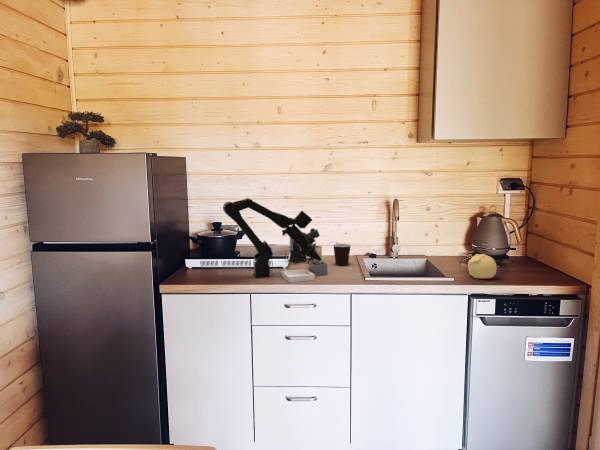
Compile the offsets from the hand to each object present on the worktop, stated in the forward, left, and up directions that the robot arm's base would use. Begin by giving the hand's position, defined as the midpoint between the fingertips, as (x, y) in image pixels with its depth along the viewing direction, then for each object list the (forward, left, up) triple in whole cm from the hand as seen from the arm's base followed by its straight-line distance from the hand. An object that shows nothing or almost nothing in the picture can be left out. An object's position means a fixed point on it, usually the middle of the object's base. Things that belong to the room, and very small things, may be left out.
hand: (321, 259), depth 209 cm
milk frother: (+1, +27, -7) cm, 28 cm away
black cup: (+18, +14, -7) cm, 24 cm away
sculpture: (+65, -32, -7) cm, 73 cm away
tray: (-13, -4, -7) cm, 15 cm away
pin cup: (-1, +1, -7) cm, 7 cm away
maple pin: (-1, +1, -7) cm, 7 cm away
